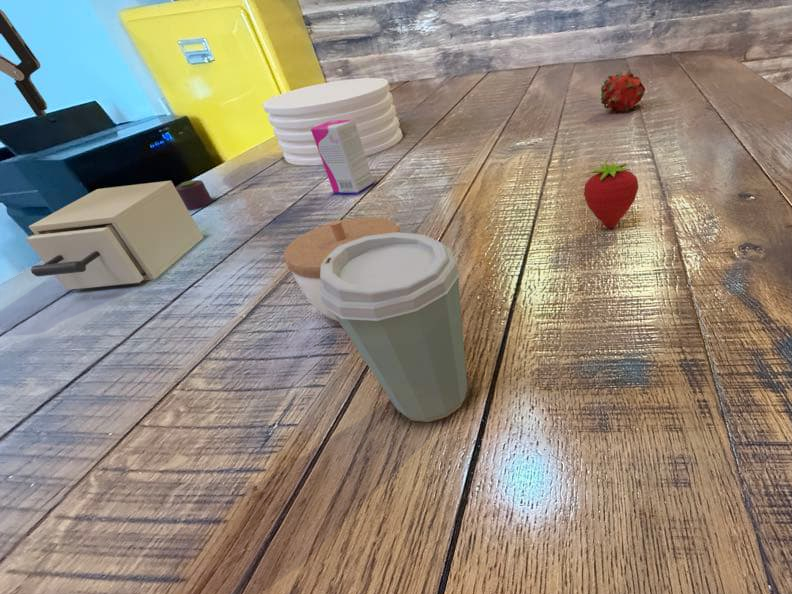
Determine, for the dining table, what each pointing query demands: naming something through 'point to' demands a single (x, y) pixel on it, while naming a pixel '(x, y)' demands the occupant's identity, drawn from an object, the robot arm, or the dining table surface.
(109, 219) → the cabinet
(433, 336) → the disposable coffee cup
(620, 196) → the strawberry
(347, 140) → the supplement box
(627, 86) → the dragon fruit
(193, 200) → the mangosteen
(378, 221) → the lidded bowl
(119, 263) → the drawer
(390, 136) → the plate stack
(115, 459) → the dining table surface
